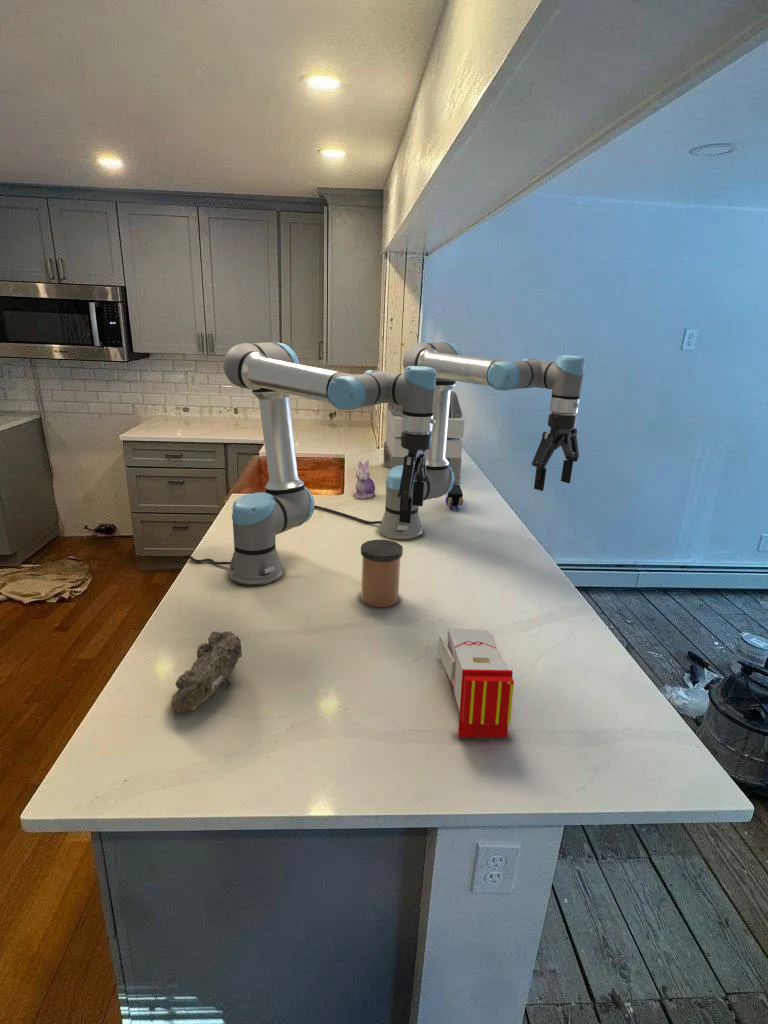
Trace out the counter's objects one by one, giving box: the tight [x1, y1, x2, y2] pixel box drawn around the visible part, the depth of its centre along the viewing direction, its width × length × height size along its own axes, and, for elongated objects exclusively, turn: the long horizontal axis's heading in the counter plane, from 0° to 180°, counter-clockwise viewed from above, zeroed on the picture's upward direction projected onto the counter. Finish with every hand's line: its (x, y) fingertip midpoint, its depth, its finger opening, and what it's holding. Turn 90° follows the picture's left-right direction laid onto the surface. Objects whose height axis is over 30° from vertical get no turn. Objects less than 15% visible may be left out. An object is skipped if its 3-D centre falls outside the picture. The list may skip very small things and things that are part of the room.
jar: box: [360, 555, 401, 608], centre depth 153 cm, size 10×10×15 cm
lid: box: [360, 539, 404, 562], centre depth 150 cm, size 11×11×2 cm
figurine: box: [354, 460, 376, 500], centre depth 236 cm, size 9×10×15 cm
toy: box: [437, 628, 515, 738], centre depth 117 cm, size 12×13×30 cm
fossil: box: [170, 630, 243, 713], centre depth 116 cm, size 22×10×15 cm
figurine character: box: [444, 483, 464, 511], centre depth 230 cm, size 7×8×15 cm
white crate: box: [383, 390, 465, 484], centre depth 268 cm, size 34×33×41 cm
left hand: (411, 513), depth 146 cm, fingers open, 13 cm apart
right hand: (552, 485), depth 166 cm, fingers open, 13 cm apart
